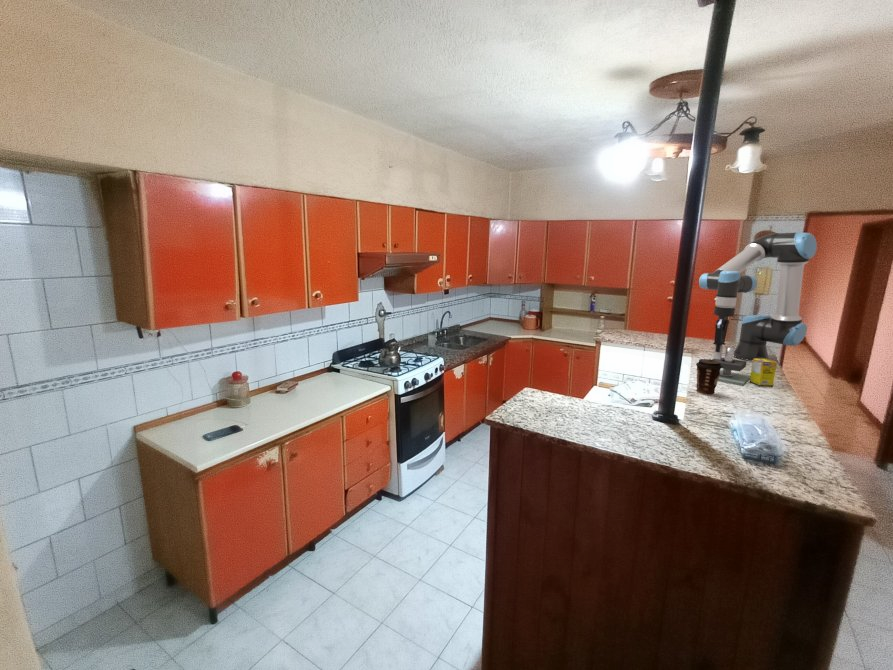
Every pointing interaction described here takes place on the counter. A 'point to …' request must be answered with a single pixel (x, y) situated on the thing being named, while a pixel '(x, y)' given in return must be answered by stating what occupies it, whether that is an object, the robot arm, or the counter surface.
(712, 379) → the coffee cup
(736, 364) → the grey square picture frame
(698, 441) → the counter surface
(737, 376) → the base board
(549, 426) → the counter surface
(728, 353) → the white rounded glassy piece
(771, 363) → the supplement box
